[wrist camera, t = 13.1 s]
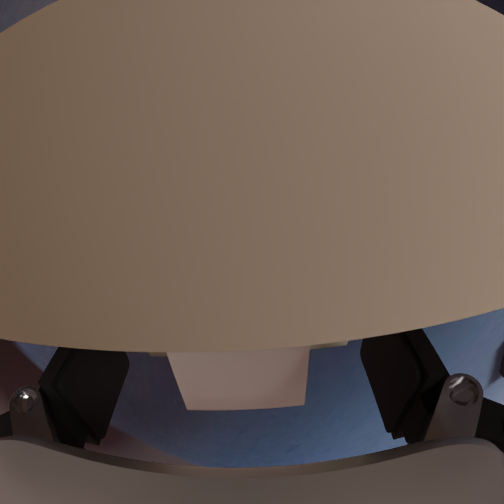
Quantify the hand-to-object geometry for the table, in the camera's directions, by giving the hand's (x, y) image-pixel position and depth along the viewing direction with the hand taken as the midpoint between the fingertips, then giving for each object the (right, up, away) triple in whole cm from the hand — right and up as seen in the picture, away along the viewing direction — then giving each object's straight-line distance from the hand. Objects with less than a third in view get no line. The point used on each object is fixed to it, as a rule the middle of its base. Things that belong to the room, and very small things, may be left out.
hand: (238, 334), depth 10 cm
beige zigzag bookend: (-1, +4, +12) cm, 13 cm away
